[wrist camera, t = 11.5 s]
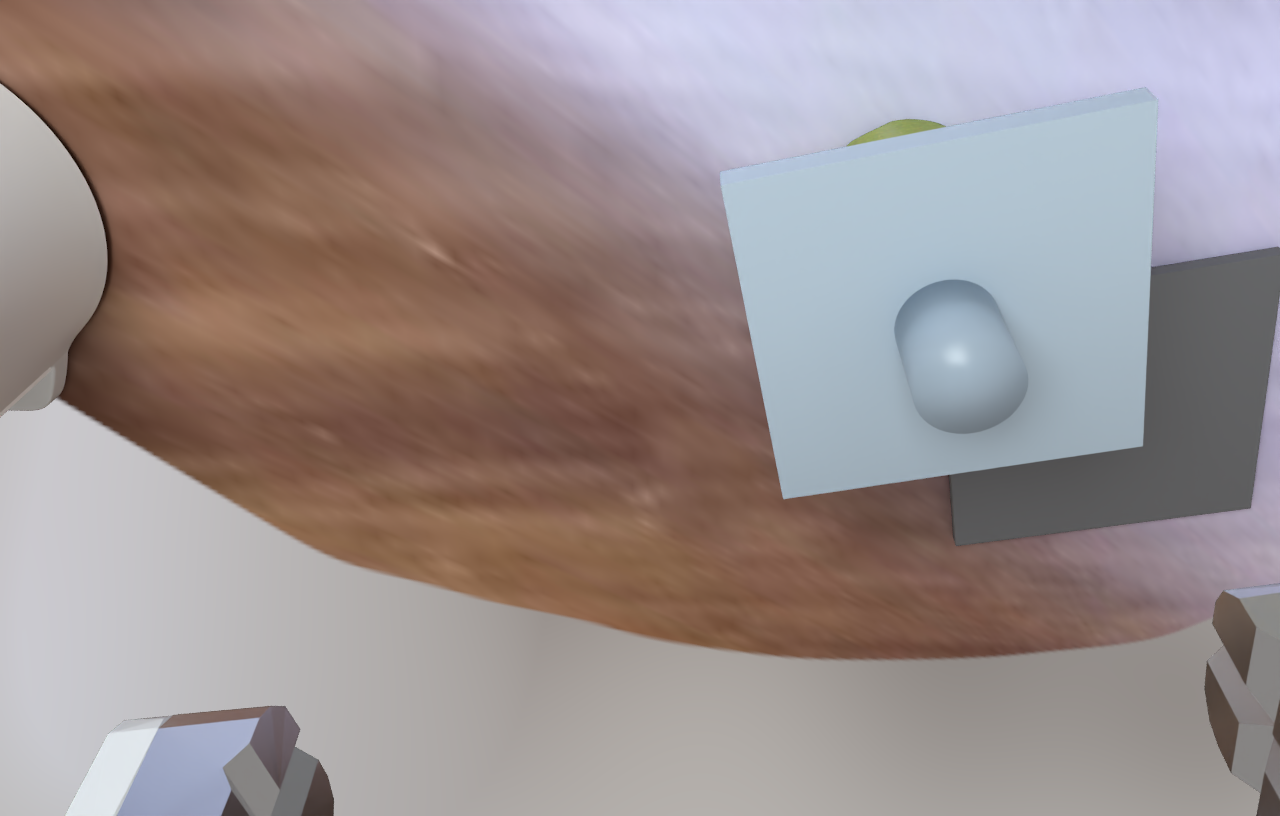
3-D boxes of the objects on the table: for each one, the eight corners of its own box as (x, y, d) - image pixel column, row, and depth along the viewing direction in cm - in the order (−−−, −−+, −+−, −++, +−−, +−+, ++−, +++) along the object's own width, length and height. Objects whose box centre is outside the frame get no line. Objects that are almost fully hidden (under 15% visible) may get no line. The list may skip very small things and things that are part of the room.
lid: (781, 480, 39) (790, 569, 35) (720, 171, 32) (723, 240, 28) (1132, 428, 37) (1181, 515, 33) (1145, 86, 30) (1208, 149, 26)
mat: (953, 537, 51) (955, 546, 51) (937, 302, 44) (939, 310, 43) (1245, 499, 49) (1250, 508, 49) (1278, 246, 42) (1285, 253, 41)
